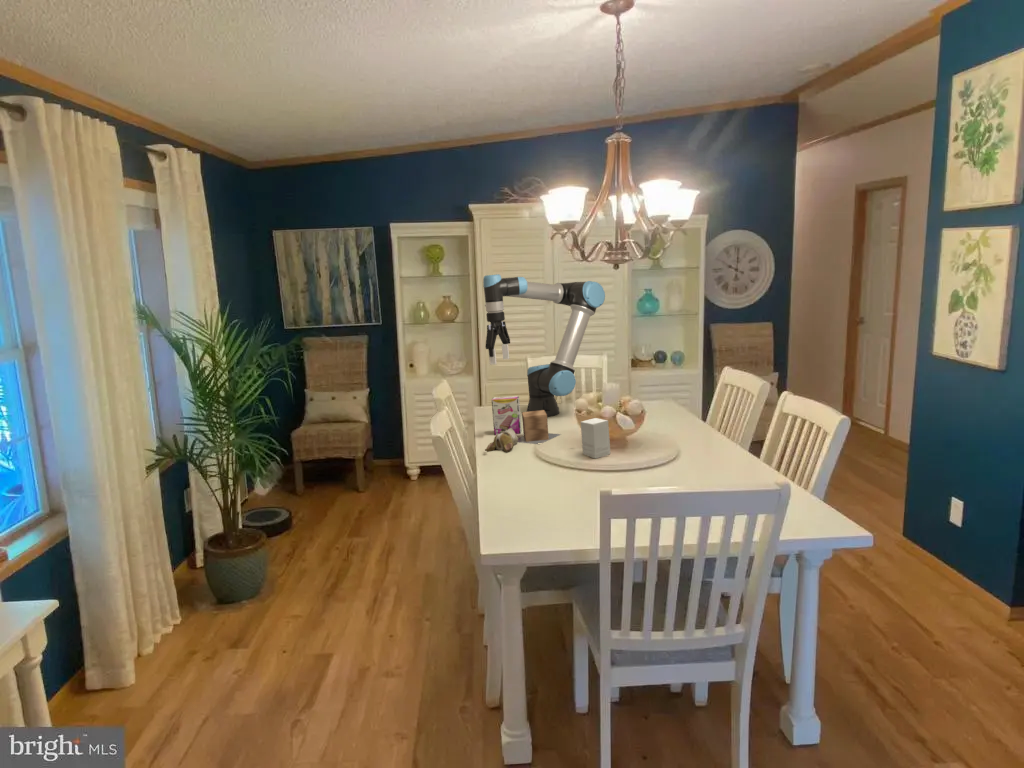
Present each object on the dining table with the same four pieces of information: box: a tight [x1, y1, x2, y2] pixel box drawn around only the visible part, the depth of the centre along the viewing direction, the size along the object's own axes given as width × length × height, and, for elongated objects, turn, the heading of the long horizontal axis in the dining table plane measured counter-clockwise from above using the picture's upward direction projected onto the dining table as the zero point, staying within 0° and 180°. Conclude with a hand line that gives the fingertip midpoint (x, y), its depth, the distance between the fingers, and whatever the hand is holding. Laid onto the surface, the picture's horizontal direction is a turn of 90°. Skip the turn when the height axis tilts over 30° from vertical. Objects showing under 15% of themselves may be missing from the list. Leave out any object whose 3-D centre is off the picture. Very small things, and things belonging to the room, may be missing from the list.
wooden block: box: [521, 410, 549, 442], centre depth 276 cm, size 9×9×10 cm
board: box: [517, 432, 562, 445], centre depth 277 cm, size 16×14×1 cm
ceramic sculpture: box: [484, 428, 519, 453], centre depth 266 cm, size 11×9×15 cm
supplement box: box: [580, 417, 611, 459], centre depth 249 cm, size 7×7×13 cm
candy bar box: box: [491, 395, 523, 436], centre depth 288 cm, size 11×5×16 cm, turn 84°
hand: (499, 361), depth 296 cm, fingers open, 13 cm apart
